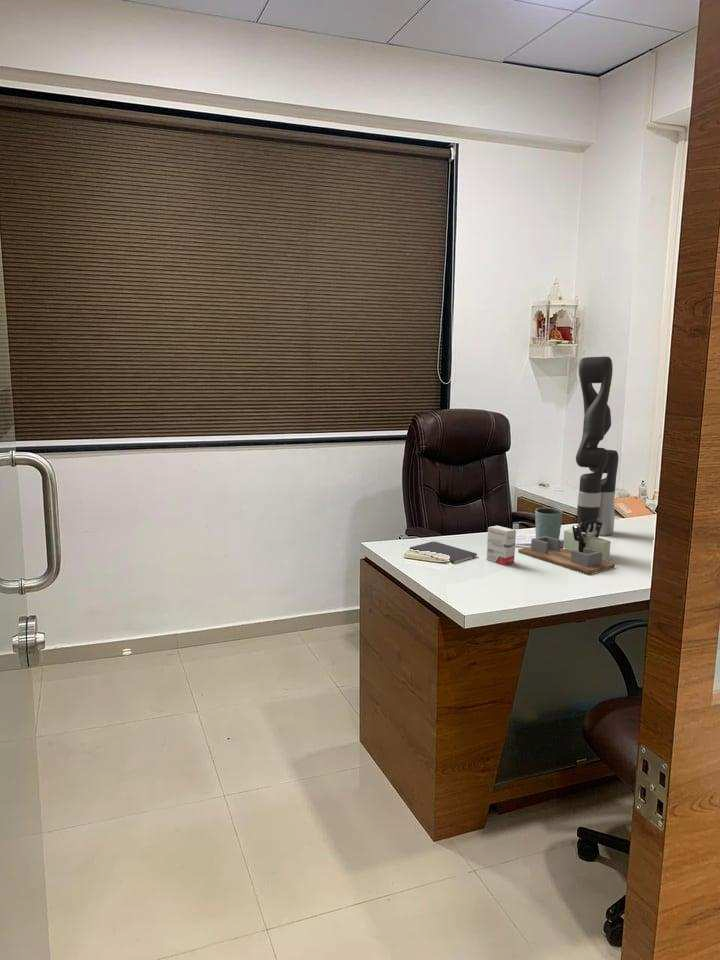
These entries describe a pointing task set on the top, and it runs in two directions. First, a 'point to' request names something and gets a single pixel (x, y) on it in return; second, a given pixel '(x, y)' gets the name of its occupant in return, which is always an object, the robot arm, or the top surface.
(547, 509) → the grey green cup
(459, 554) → the notebook
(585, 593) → the top surface
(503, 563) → the ink box
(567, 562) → the mounting board
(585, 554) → the end cap
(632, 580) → the top surface
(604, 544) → the pale green block
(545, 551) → the end cap
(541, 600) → the top surface
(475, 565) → the top surface
